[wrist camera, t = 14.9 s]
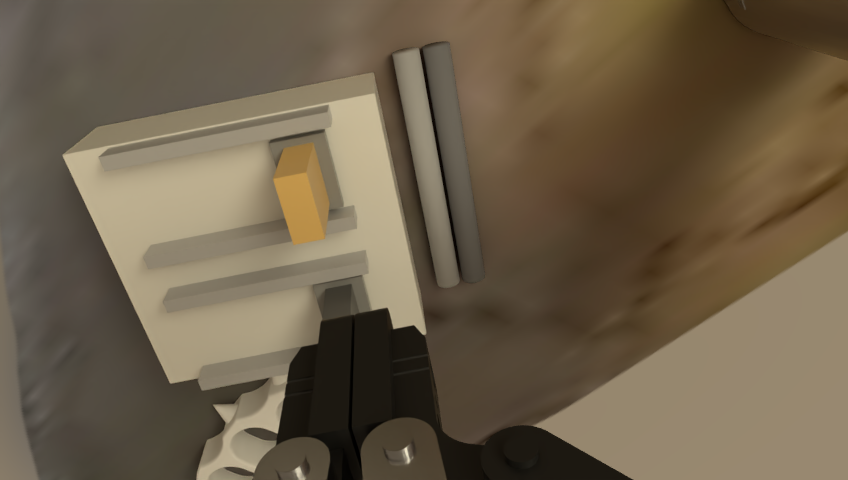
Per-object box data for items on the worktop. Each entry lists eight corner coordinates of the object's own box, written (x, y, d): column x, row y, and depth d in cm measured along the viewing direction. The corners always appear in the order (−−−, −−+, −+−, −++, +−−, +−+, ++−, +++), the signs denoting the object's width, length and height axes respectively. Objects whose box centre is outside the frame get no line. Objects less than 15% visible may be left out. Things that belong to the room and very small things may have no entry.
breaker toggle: (324, 129, 34) (318, 161, 30) (344, 202, 36) (340, 243, 32) (270, 140, 34) (255, 173, 30) (292, 212, 36) (281, 254, 32)
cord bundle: (447, 40, 38) (451, 45, 36) (483, 268, 45) (487, 280, 44) (391, 51, 38) (392, 56, 36) (436, 278, 45) (438, 289, 44)
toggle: (361, 270, 38) (361, 317, 34) (377, 329, 40) (378, 380, 36) (313, 280, 38) (306, 328, 34) (330, 338, 40) (326, 390, 36)
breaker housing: (373, 72, 38) (374, 100, 32) (420, 293, 46) (428, 348, 40) (97, 126, 38) (49, 164, 33) (189, 337, 46) (163, 399, 40)
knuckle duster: (294, 521, 56) (163, 429, 50) (455, 415, 52) (334, 301, 46) (290, 555, 53) (150, 462, 47) (461, 446, 49) (332, 328, 43)
